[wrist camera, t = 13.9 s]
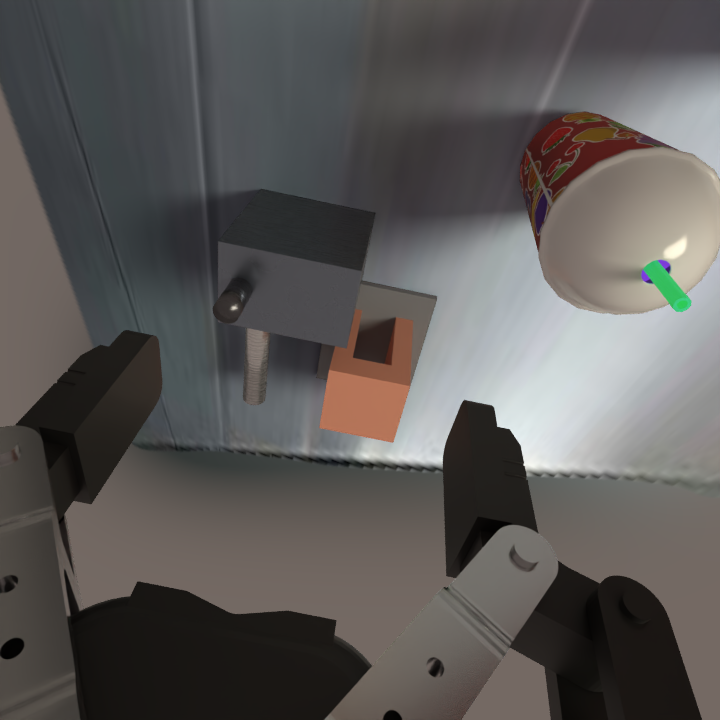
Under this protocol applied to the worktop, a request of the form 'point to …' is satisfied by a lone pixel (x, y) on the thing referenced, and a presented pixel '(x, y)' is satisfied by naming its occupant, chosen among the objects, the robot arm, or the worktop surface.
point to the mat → (384, 324)
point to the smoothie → (619, 215)
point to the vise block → (290, 276)
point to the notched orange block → (369, 386)
